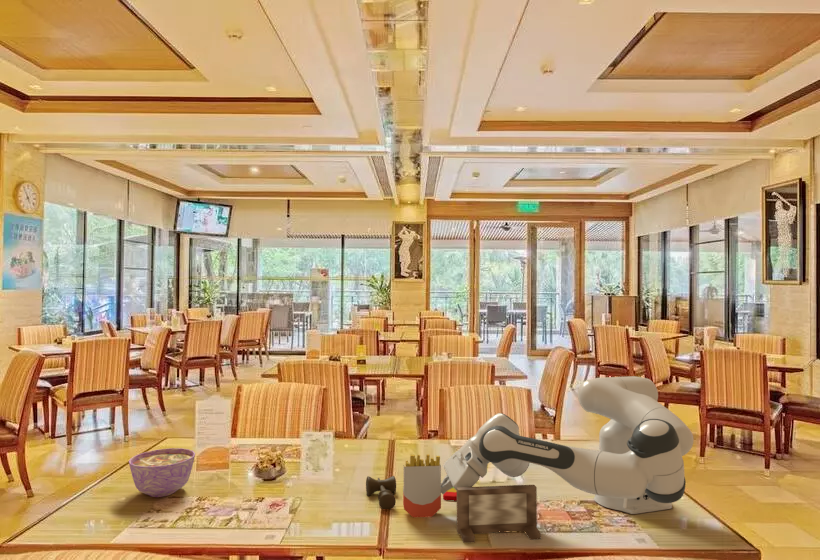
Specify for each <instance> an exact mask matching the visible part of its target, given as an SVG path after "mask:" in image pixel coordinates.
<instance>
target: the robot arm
mask: <svg viewBox="0 0 820 560" xmlns="http://www.w3.org/2000/svg"><path fill="white" fill-rule="evenodd" d="M658 399H659V392H658V388H657V386H656V385H655V383H654V382H653V381H652V380H651V379H650V378H647V377H641V376H635V375H633V376H628V375H627V376H611V377H605V376H604V377H594V378H591V379H587V380H584V381H581V384H580V385H579V387H578V390H577V400H578V402H579V405H580V406H581V408H582V409H583V410H584V411H586V412H588V413H592V414H594V415H595V414H596V415H599V416H602V417H605V418H607V419H610V420H609V421H608V422H607V423H605V424H604V425H602V426H601V428H600V430H599V433H598V435H599V438H598V439H599V441H598V442H599V445H598V446H599V450H597V449H592V448H591V449H589V448H583V447H576V446H570V445H565V444H558V443H556V442H552V441H546V440H543V439H542V440H541V439H536V438H533V437H527V436H524V435H520V427H519V425H518V423H517V422H516V421H514V419H512V418H511V417H509V416H508V415H506V414H504V413H501V412H498V413H495V414H494V415H492V416H491V417H490V418H489V419H487V420H486V421H485V422H484V423H483V424H482V425H481V426H480V427H479V428H478V430H477V432H476V433H475V434H474V435H473V436H471V437H470V438H469V439H467V441H466V442H465V443H464V444H463V445H462V446H461V447H460V448H459V449H458V450H456V451H455V452H454V453H453V454H452V455H450V456H449V458H448V459H446V461H444V463H443V465H442V467H443V469H444V470H445V472H446V475H445V476H444V478H443V479H442V480H441V495H443V494H444V493H445V492H446V491H447V490H449V489H451V488H453V487H454V489H455V490H456V491H457V487H474V486H475V484H476V483H477V482H478V481H479V480H480V478H484V477H485V476H486V475H487V473H488V466H489V463H491V464H492V465H493V466H495V468H496V469H498V470H499V471H500V472H501V473H503V474H504V475H506V476H507V477H510V478H517V477H520V476H522V475H523V474H525V473H526V472H527V470H528V469H529V466H530V464H533V465H538V466H541V467H544V468H546V469H547V470H550V471H552V473H553V472H554V473H555V474H556V475H557V476H559V477H560V478H561V479H563V480H564V481H565V482H567V483H568V484H569V485H570V486H572V487H573V488H574V489H577V490H579V491H582V492H585V493H589V494H592V495H594V497H593V499H594V501H595V503H597V504H599V505H600V506H602V507H605V508H608V509H612V510H614V511H615V510H616V511H621V512H623V513H627V514H631V515H636V514H637V515H638V514H644V513H651V512H657V511H658V512H659V511H665V510H671V509H672V508H673V505H672V503H675V502H678V501H679V500H681V499H682V498H683V497H684V493H685V490H686V483H687V482H686V477H685V462H684V458H683V456H685V455H687V454H688V453H689V452H690V451H691V450H692V448H693V444H694V435H693V432H692V430H691V429H690V428H689V426H687V425H686V423H685V422H684V421H683V420H682V419H681V418H679V416H677V414H675V413H674V412H672V411H671V410H670V409H668V408H667V407H666V406H664V405H663V404H662V403H660V402H658Z"/></svg>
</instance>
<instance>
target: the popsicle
mask: <svg viewBox="0 0 820 560" xmlns="http://www.w3.org/2000/svg"><path fill="white" fill-rule="evenodd" d="M442 500H443V501H448V500H454V501H453V502H457V491H456V490H455V489H454V487H453V488H451V489H449V490H447V491H446V492H445V493H444V494H442Z"/></svg>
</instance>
